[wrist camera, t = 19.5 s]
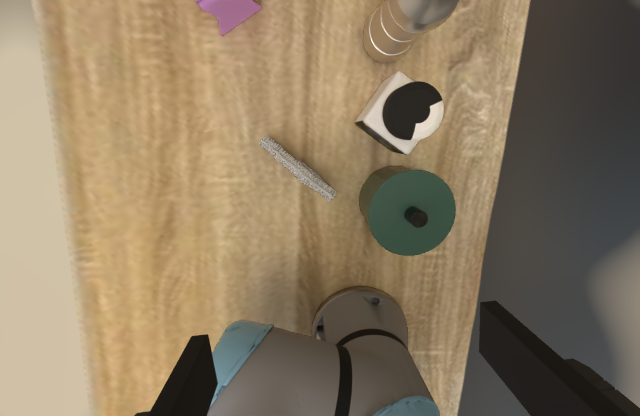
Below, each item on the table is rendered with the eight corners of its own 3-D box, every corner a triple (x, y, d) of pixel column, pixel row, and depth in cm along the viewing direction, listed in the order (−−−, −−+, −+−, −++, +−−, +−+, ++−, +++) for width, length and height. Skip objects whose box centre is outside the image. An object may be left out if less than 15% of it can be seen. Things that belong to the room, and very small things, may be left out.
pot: (435, 212, 48) (462, 229, 40) (376, 242, 49) (391, 264, 41) (409, 153, 46) (432, 158, 38) (347, 185, 47) (357, 197, 38)
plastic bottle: (350, 50, 43) (390, -21, 23) (376, 1, 41) (441, -117, 22) (391, 75, 44) (461, 28, 24) (417, 28, 42) (514, -62, 23)
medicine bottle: (353, 123, 45) (370, 119, 33) (384, 79, 44) (413, 59, 32) (392, 152, 46) (423, 159, 34) (423, 110, 45) (465, 102, 33)
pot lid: (464, 228, 41) (479, 237, 37) (388, 266, 41) (396, 278, 38) (431, 153, 38) (444, 155, 35) (352, 194, 39) (357, 200, 36)
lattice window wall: (260, 144, 45) (254, 145, 39) (268, 133, 45) (262, 133, 39) (326, 195, 47) (329, 204, 41) (334, 186, 47) (338, 193, 41)
